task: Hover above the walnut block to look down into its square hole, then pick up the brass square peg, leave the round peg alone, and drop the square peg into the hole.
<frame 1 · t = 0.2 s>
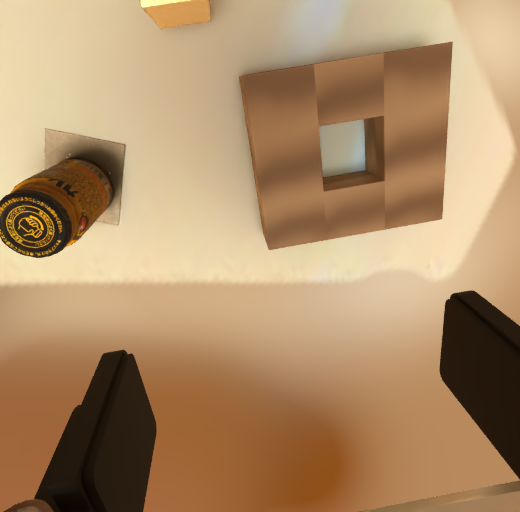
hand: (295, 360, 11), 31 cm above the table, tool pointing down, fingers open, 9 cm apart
socket block: (337, 147, 40), on the table
condiment: (85, 179, 39), on the table
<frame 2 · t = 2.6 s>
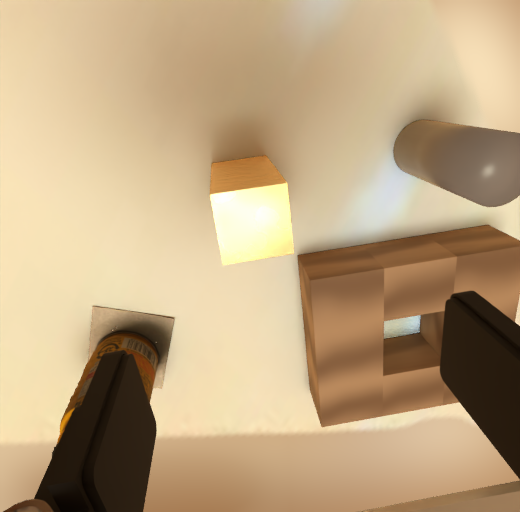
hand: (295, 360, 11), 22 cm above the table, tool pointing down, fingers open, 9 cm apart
socket block: (392, 313, 38), on the table
round peg: (419, 147, 32), on the table
condiment: (130, 347, 37), on the table
square peg: (242, 186, 31), on the table
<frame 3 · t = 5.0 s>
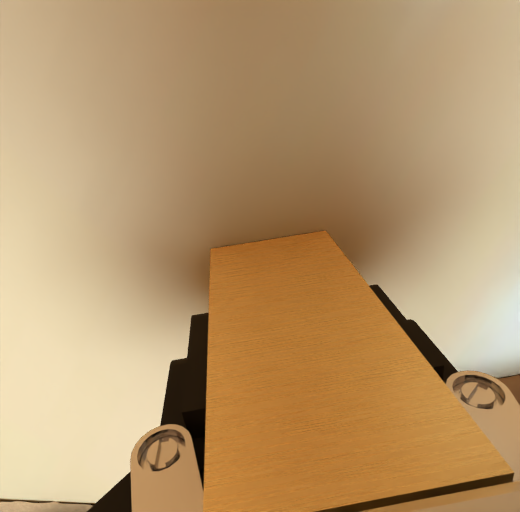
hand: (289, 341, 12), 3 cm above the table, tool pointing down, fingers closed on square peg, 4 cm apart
square peg: (274, 290, 15), on the table, touching gripper
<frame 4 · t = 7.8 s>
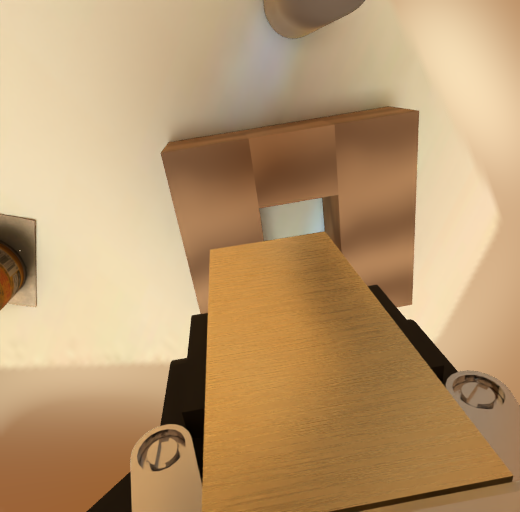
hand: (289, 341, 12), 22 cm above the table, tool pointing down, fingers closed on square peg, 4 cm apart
socket block: (290, 217, 34), on the table
round peg: (294, 3, 27), on the table
square peg: (274, 291, 15), point 19 cm above the table, touching gripper
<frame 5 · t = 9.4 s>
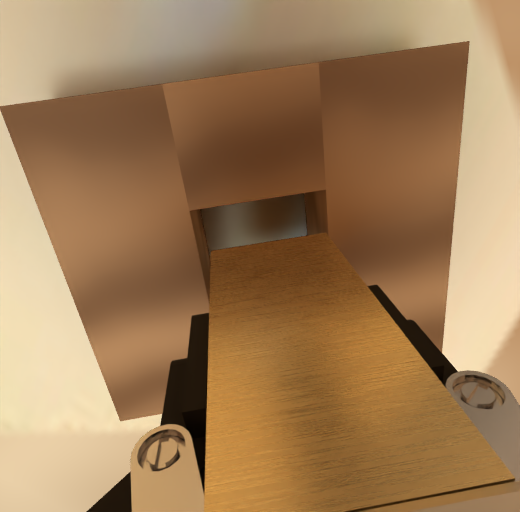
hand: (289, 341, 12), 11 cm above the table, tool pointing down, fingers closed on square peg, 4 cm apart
socket block: (255, 226, 22), on the table
square peg: (275, 292, 15), point 8 cm above the table, touching gripper
when the fingers open (6 cm above the table, at t = 10.7 s): square peg drops 3 cm, resting in socket block.
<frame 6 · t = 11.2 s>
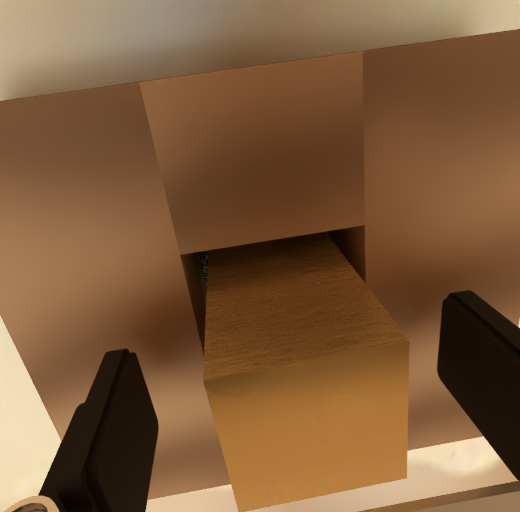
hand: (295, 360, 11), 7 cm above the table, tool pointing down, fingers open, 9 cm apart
socket block: (265, 259, 18), on the table
square peg: (264, 259, 18), resting in socket block
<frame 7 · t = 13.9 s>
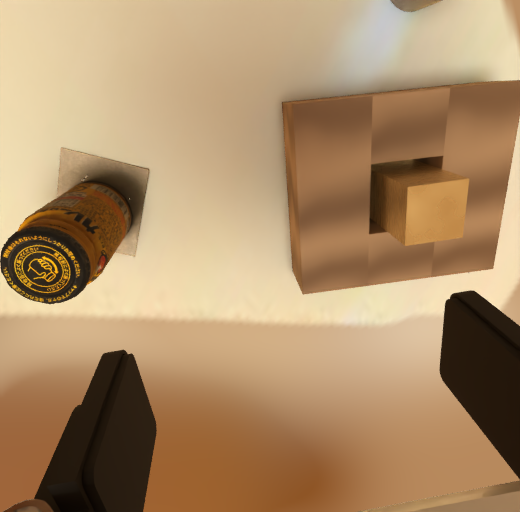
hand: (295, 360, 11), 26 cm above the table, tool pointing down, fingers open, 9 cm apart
socket block: (381, 183, 36), on the table
condiment: (101, 204, 34), on the table
square peg: (380, 182, 36), resting in socket block
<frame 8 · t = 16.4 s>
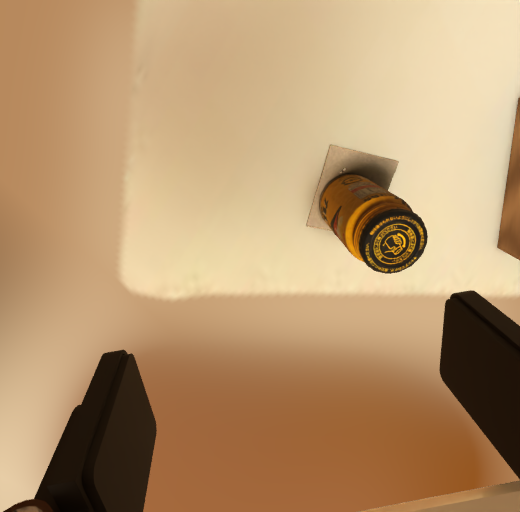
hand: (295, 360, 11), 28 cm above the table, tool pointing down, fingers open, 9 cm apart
condiment: (350, 193, 39), on the table
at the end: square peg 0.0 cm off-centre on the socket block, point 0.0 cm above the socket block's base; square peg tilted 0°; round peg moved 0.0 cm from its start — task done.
